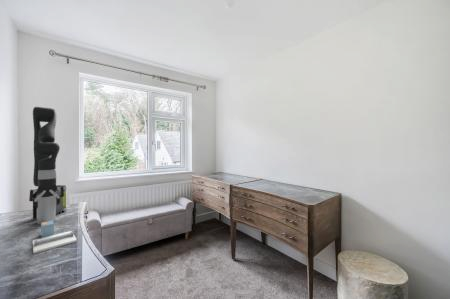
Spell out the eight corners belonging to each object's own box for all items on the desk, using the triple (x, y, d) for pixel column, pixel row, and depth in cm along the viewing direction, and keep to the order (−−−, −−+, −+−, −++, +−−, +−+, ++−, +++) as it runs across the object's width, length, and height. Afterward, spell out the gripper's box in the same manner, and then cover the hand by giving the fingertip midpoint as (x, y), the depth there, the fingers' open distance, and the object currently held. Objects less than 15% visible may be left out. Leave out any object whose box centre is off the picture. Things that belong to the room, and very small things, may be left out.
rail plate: (32, 242, 99) (32, 237, 99) (71, 232, 111) (71, 228, 111) (33, 253, 88) (33, 248, 88) (76, 241, 100) (76, 236, 100)
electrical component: (42, 219, 132) (42, 190, 132) (30, 218, 134) (30, 189, 134) (67, 211, 149) (67, 185, 149) (57, 210, 151) (57, 185, 151)
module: (41, 234, 108) (40, 222, 108) (52, 231, 112) (52, 220, 112) (41, 238, 104) (41, 225, 104) (54, 235, 107) (54, 223, 107)
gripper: (62, 175, 115) (63, 202, 116) (29, 178, 105) (29, 207, 105) (64, 177, 110) (64, 205, 110) (29, 180, 100) (29, 210, 100)
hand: (47, 206), depth 108 cm, fingers open, 8 cm apart
